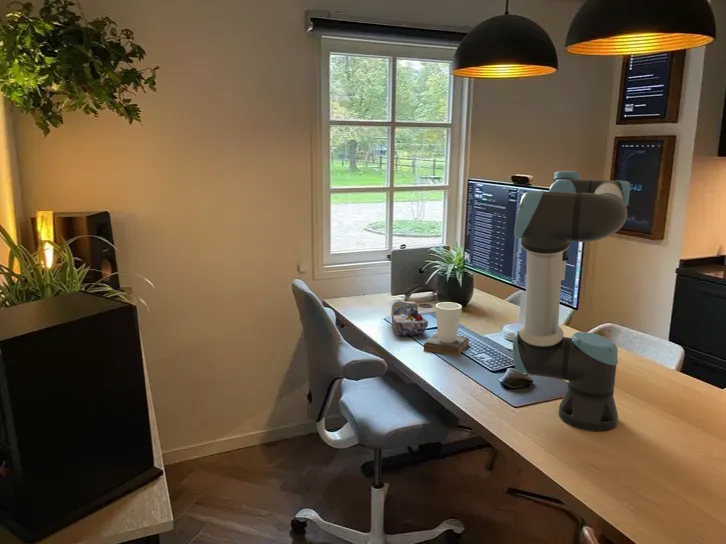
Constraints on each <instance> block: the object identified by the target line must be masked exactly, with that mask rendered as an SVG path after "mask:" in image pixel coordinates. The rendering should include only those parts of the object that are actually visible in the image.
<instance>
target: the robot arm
mask: <svg viewBox="0 0 726 544" xmlns="http://www.w3.org/2000/svg"><path fill="white" fill-rule="evenodd" d="M552 181H553V182H552V183H551V185H550V186H549V190H548V191H547V190H546V191H545V190H543V189H542V190H540V191H539V190H533V191H531V190H530V191H526V192H525V193H523V195H522V196H521V198H520V202H519V206H518V209H517V214H516V219H515V224H514V231H513V233H514V234H513V236H514V237H515V238H516V239H520V245H521V248H522V249H524V251H526V274H525V275H526V276H525V277H526V278H525V279H526V280H525V308H524V309H525V310H524V311H525V313H524V314H525V315H524V323H523V324H522V325H521V326H520V328H519V330H518V331H515V332H514V335H513V338H512V361H513V365H514V368H515V369H516V371H517V372H519V373H522V374H526V375H529V376H537V377H538V376H539V377H544V378H550V379H557V380H563V381H568V382H567V383H568V384H567V389H566V391H565V393H564V396H563V398H562V399H561V401H560V404H559V407H558V416H559V418H560V419H561V420H562V421H563V422H564V423H566V424H568V425H570V426H571V427H574V428H577V429H580V430H585V431H589V432H590V431H592V432H607V431H610V430H613V429H615V428H616V427H617V425H618V423H619V422H618V420H619V414H618V409H617V405H616V402H615V401H616V400H615V397H614V391H615V385H616V384H615V382H616V373H617V365H618V363H619V359H618V357H619V356H618V353H619V348H618V346H617V345H616V344H615V342H614V341H612V340H611V339H609V338H607V337H605V336H604V335H603V336H602V335H599V334H597V333H592V332H586V331H583V332H580V331H578V332H575V333H573V335H572V336H571V337H566V336H564V335H565V334H564V331H563V329H562V328H561V327H560V326H559V322H560V321H559V320H560V306H561V304H560V303H561V302H560V301H561V288H562V287H561V286H562V285H561V284H562V281H565V276H566V268H567V261H569V257H568V249H569V248H570V246H571V245H570V243H571V242H574V243H575V242H576V243H578V242H579V243H588V242H589V243H591V242H596V241H600V240H602V239H605V238H608V237H609V236H612V235H613V234H615V233H617V232H618V231H619V230H620V229H621V228H622V227H623V226H624V224H625V223H626V221H627V217H628V209H627V208H628V207H627V206H629V202H630V193H631V183H630V182H629V181H626V180H619V179H615V180H605V179H604V180H603V179H599V180H598V179H597V180H595V179H580V173H579V172H578V171H576V170H556V171H555V172H554V175H553V180H552Z"/></svg>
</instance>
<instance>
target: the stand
mask: <svg viewBox="0 0 726 544" xmlns="http://www.w3.org/2000/svg"><path fill="white" fill-rule="evenodd" d="M469 342H470V338H468V337H467V336H461V335H457V338H456V341H455V342H452V343H445V342H441V341H439V338H438V331H437V332H435V333H434V334H433V335H432V336H431V337H430V338H429V339H427V340H426V342H425V343H423V351H426V352H431V353H432V352H433V353H437V354H444V355H449V356H456V357H459V356H460V355H461V354H462V353H463V352H464V351H465V349H466V348H467V347H468V346H469V345H468V343H469ZM469 344H470V343H469ZM467 345H468V346H467ZM466 346H467V347H466ZM465 347H466V348H465ZM464 348H465V349H464ZM462 351H463V352H462ZM461 352H462V353H461Z"/></svg>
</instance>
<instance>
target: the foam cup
mask: <svg viewBox="0 0 726 544" xmlns="http://www.w3.org/2000/svg"><path fill="white" fill-rule="evenodd" d="M462 309H463V305H461V304H460V303H457V302H451V301H443V302H438V303H436V304H435V309H434V310H435V311H434V312H435V314H436V315H435V316H436V324H437V333H438V338H439V341H441V342H445V343H452V342H455V341H456V338H457V336H458V331H459V325H460V320H461V314H462Z"/></svg>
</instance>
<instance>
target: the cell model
mask: <svg viewBox="0 0 726 544" xmlns="http://www.w3.org/2000/svg"><path fill="white" fill-rule="evenodd" d="M418 308H419V307H418V304H417V302H414V301H403V300H402V301H401V300H395V301H394V302H393V303H392V305H391V314H390V315H391V323H392V328H393V331H394V333H395V334H396V335H397V336H404V337H412V336H420V335H423V334H424V333H425V331H426V329H427V328H428V326H429V321H428V319H426V318H424V317H423V316H422V315H421V314H420V313H419V311H418Z"/></svg>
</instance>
